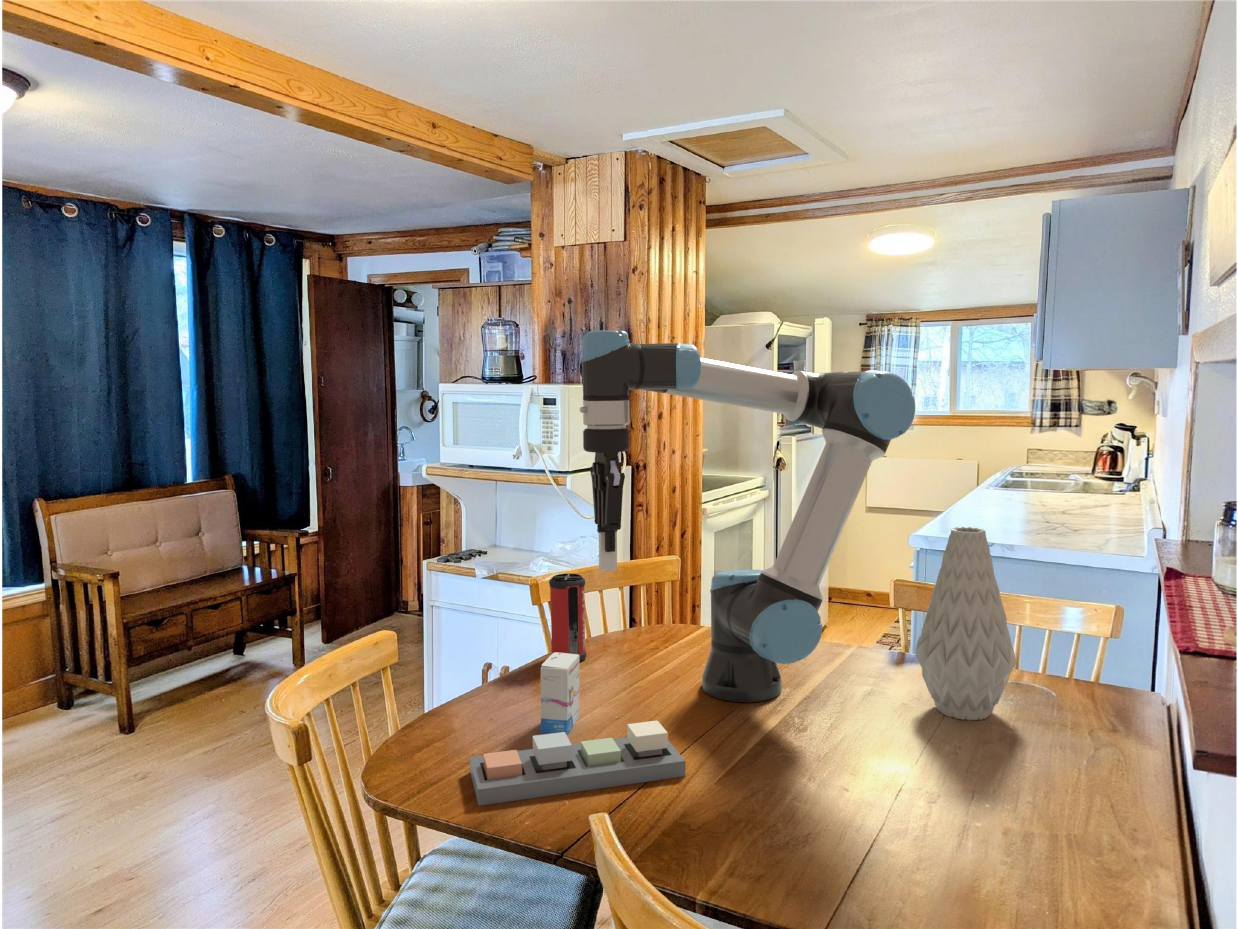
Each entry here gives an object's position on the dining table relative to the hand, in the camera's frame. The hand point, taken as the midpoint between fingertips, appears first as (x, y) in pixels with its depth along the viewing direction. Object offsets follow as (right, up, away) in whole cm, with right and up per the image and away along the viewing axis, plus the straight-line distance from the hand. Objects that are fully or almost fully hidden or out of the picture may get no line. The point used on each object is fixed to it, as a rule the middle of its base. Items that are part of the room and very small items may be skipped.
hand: (608, 569), depth 142 cm
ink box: (-8, -28, +8) cm, 30 cm away
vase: (+63, -27, +12) cm, 70 cm away
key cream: (+6, -27, -8) cm, 29 cm away
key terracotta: (-15, -30, -14) cm, 36 cm away
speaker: (-9, -25, +44) cm, 51 cm away
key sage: (-1, -29, -10) cm, 31 cm away
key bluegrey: (-8, -28, -12) cm, 31 cm away
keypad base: (-5, -30, -11) cm, 32 cm away
